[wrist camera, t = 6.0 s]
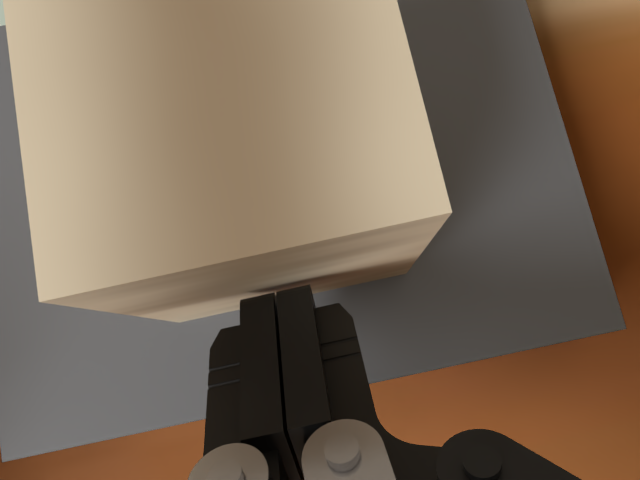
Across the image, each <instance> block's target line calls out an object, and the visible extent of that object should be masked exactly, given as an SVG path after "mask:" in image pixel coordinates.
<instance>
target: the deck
mask: <svg viewBox="0 0 640 480" xmlns="http://www.w3.org/2000/svg"><path fill="white" fill-rule="evenodd" d="M397 2H398V6H399V10H400V14H401V18H402V21H403V25H404V29H405V33H406V37H407V41H408V44H409V48H410V52H411V56H412V60H413V64H414V67H415V71H416V75H417V79H418V83H419V87H420V90H421V94H422V98H423V102H424V106H425V110H426V113H427V117H428V121H429V125H430V129H431V133H432V136H433V140H434V144H435V148H436V152H437V156H438V160H439V163H440V167H441V171H442V175H443V179H444V183H445V186H446V190H447V194H448V198H449V202H450V206H451V209H452V213H451V215H450V216H449V217H448V219H447V220H446V221H445V223H444V224H443V225H442V227H441V228H440V229H439V231H438V232H437V233H436V235H435V236H434V237H433V239H432V240H431V241H430V243H429V244H428V245H427V247H426V248H425V249H424V251H423V252H422V253H421V255H420V256H419V257H418V259H417V260H416V261H415V263H414V264H413V265H412V267H411V268H410V269H409V271H408V272H407V273H406V274H402V275H398V276H393V277H388V278H384V279H379V280H374V281H370V282H365V283H360V284H356V285H351V286H347V287H342V288H337V289H333V290H328V291H323V292H319V293H314V294H313V298H314V302H315V306H316V308H317V307H322V306H326V305H331V304H335V303H340V304H341V305H342V307H343V308H344V309H345V310H346V311H347V312H348V313H349V314H350V315H351V316H352V317H353V321H354V325H355V329H356V333H357V337H358V341H359V346H360V350H361V354H362V358H363V362H364V366H365V370H366V375H367V379H368V383H369V384H371V383H375V382H380V381H385V380H389V379H394V378H399V377H403V376H408V375H413V374H417V373H422V372H427V371H431V370H436V369H441V368H445V367H450V366H455V365H459V364H464V363H469V362H473V361H478V360H483V359H487V358H492V357H497V356H501V355H506V354H511V353H515V352H520V351H525V350H529V349H534V348H539V347H543V346H548V345H553V344H557V343H562V342H567V341H571V340H576V339H581V338H586V337H590V336H595V335H600V334H604V333H609V332H614V331H618V330H623V329H626V325H625V322H624V319H623V315H622V312H621V309H620V306H619V302H618V299H617V296H616V293H615V289H614V286H613V283H612V280H611V276H610V273H609V270H608V267H607V263H606V260H605V257H604V253H603V250H602V247H601V244H600V240H599V237H598V234H597V231H596V227H595V224H594V221H593V218H592V214H591V211H590V208H589V205H588V201H587V198H586V195H585V192H584V188H583V185H582V182H581V178H580V175H579V172H578V169H577V165H576V162H575V159H574V156H573V152H572V149H571V146H570V143H569V139H568V136H567V133H566V130H565V126H564V123H563V120H562V116H561V113H560V110H559V107H558V103H557V100H556V97H555V94H554V90H553V87H552V84H551V81H550V77H549V74H548V71H547V68H546V64H545V61H544V58H543V55H542V51H541V48H540V45H539V41H538V38H537V35H536V32H535V28H534V25H533V22H532V19H531V15H530V12H529V9H528V6H527V2H526V0H397ZM237 325H240V310H236V311H231V312H226V313H222V314H217V315H212V316H208V317H203V318H199V319H194V320H189V321H185V322H180V323H178V322H172V321H165V320H158V319H151V318H144V317H137V316H130V315H124V314H117V313H110V312H103V311H96V310H89V309H83V308H76V307H69V306H62V305H55V304H48V303H42V302H39V299H38V291H37V282H36V274H35V266H34V257H33V249H32V241H31V232H30V224H29V216H28V207H27V199H26V191H25V182H24V174H23V166H22V157H21V149H20V141H19V132H18V124H17V116H16V107H15V99H14V91H13V82H12V74H11V66H10V57H9V49H8V41H7V32H6V25H3V26H0V447H1V457H2V462H6V461H11V460H15V459H20V458H25V457H29V456H34V455H39V454H43V453H48V452H53V451H57V450H62V449H67V448H71V447H76V446H81V445H85V444H90V443H95V442H99V441H104V440H109V439H113V438H118V437H123V436H127V435H132V434H137V433H141V432H146V431H151V430H155V429H160V428H165V427H170V426H174V425H179V424H184V423H188V422H193V421H198V420H202V419H206V406H207V390H208V373H209V355H210V348H211V346H212V344H213V342H214V340H215V338H216V337H217V335H218V333H219V331H220V329H223V328H228V327H232V326H237Z"/></svg>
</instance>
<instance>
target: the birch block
mask: <svg viewBox="0 0 640 480" xmlns="http://www.w3.org/2000/svg"><path fill="white" fill-rule="evenodd" d="M3 7H4V16H5V24H6V32H7V41H8V49H9V57H10V66H11V74H12V82H13V91H14V99H15V107H16V116H17V124H18V132H19V141H20V149H21V157H22V166H23V174H24V182H25V191H26V199H27V207H28V216H29V224H30V232H31V241H32V249H33V257H34V266H35V274H36V282H37V291H38V299H39V302H42V303H48V304H55V305H62V306H69V307H76V308H83V309H89V310H96V311H103V312H110V313H117V314H124V315H130V316H137V317H144V318H151V319H158V320H165V321H172V322H178V323H180V322H185V321H189V320H194V319H199V318H203V317H208V316H212V315H217V314H222V313H226V312H231V311H236V310H240V300H242V299H247V298H251V297H256V296H260V295H265V294H269V293H275V295H276V292H277V291H282V290H286V289H291V288H295V287H300V286H304V285H309V284H310V287H311V290H312V294H314V293H319V292H323V291H328V290H333V289H337V288H342V287H347V286H351V285H356V284H360V283H365V282H370V281H374V280H379V279H384V278H388V277H393V276H398V275H402V274H406V273H407V272H408V271H409V269H410V268H411V267H412V265H413V264H414V263H415V261H416V260H417V259H418V257H419V256H420V255H421V253H422V252H423V251H424V249H425V248H426V247H427V245H428V244H429V243H430V241H431V240H432V239H433V237H434V236H435V235H436V233H437V232H438V231H439V229H440V228H441V227H442V225H443V224H444V223H445V221H446V220H447V219H448V217H449V216H450V215H451V213H452V209H451V206H450V202H449V198H448V194H447V190H446V186H445V183H444V179H443V175H442V171H441V167H440V163H439V160H438V156H437V152H436V148H435V144H434V140H433V136H432V133H431V129H430V125H429V121H428V117H427V113H426V110H425V106H424V102H423V98H422V94H421V90H420V87H419V83H418V79H417V75H416V71H415V67H414V64H413V60H412V56H411V52H410V48H409V44H408V41H407V37H406V33H405V29H404V25H403V21H402V18H401V14H400V10H399V6H398V2H397V0H3Z"/></svg>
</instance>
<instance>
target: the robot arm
mask: <svg viewBox="0 0 640 480" xmlns="http://www.w3.org/2000/svg"><path fill="white" fill-rule="evenodd" d="M188 480H581V479H579V478H578V477H576V476H574V475H572V474H571V473H569V472H567V471H566V470H564V469H562V468H560V467H559V466H557V465H555V464H553V463H552V462H550V461H548V460H547V459H545V458H543V457H541V456H540V455H538V454H536V453H534V452H533V451H531V450H529V449H528V448H526V447H524V446H522V445H521V444H519V443H517V442H515V441H514V440H512V439H510V438H508V437H507V436H505V435H503V434H501V433H498V432H495V431H491V430H486V429H472V430H467V431H463V432H460V433H458V434H456V435H454V436H453V437H451V438H450V439H449V440H448V441H447V442H446V443H445V444H444V445H443V446H442V447H435V446H424V445H415V444H410V443H407V442H404V441H401V440H399V439H397V438H395V437H394V436H392V435H391V434H390V433H388V432H387V431H386V430H385V429H384V428H383V426H382V425H381V424H380V422H379V420H378V418H377V415H376V412H375V408H374V404H373V399H372V395H371V391H370V387H369V383H368V379H367V375H366V370H365V366H364V362H363V358H362V354H361V350H360V346H359V341H358V337H357V333H356V329H355V325H354V321H353V317H352V316H351V315H350V314H349V313H348V312H347V311H346V310H345V309H344V308H343V307H342V305H341V304H340V303H335V304H331V305H326V306H322V307H317V308H316V306H315V302H314V298H313V294H312V290H311V287H310V284H309V285H304V286H300V287H295V288H291V289H286V290H282V291H277V292H276V295H275V293H269V294H265V295H260V296H256V297H251V298H247V299H242V300H240V325H237V326H232V327H228V328H223V329H220V331H219V333H218V335H217V337H216V338H215V340H214V342H213V344H212V346H211V348H210V355H209V373H208V390H207V406H206V423H205V440H204V453H203V458H201V459H200V460H199V461H198V463H197V464H196V465H195V466H194V468H193V470H192V471H191V473H190V475H189V478H188Z"/></svg>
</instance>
